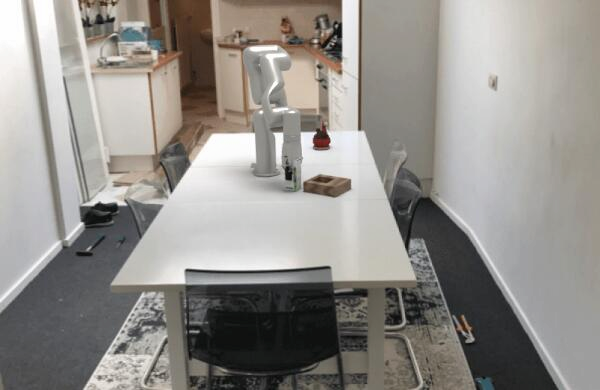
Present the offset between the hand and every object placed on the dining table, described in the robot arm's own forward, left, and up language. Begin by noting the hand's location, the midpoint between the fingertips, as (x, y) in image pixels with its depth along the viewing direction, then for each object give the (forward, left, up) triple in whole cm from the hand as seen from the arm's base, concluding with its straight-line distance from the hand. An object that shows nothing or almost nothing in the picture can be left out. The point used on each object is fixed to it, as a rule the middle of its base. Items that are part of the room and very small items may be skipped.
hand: (292, 178), depth 286 cm
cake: (-28, +71, -5) cm, 77 cm away
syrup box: (0, 0, -5) cm, 5 cm away
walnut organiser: (+14, +6, -5) cm, 16 cm away
